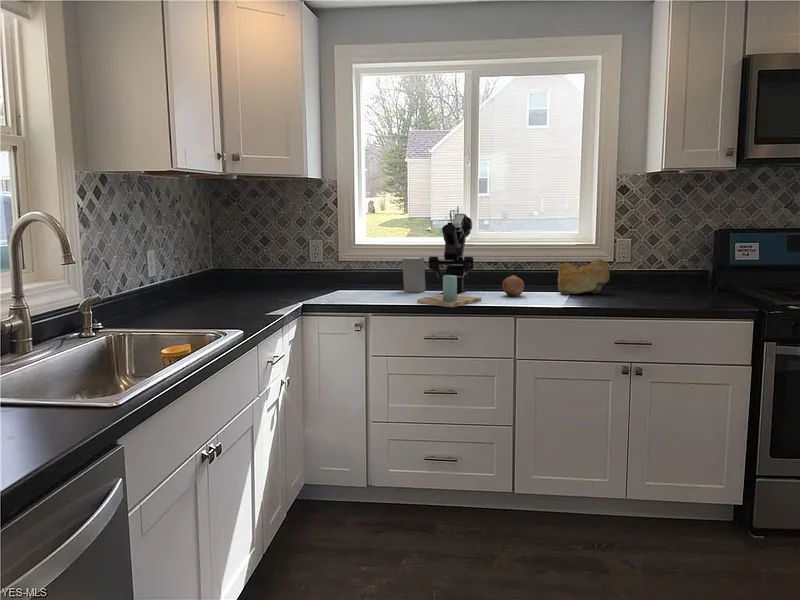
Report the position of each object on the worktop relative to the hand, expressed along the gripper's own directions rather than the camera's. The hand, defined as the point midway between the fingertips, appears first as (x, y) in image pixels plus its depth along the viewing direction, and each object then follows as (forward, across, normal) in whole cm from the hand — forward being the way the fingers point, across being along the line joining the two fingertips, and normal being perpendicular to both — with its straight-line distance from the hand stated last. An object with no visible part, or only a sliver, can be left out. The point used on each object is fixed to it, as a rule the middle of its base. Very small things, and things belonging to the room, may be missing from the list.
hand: (450, 278), depth 276 cm
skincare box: (-12, -18, +25) cm, 33 cm away
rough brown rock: (-12, +57, +27) cm, 64 cm away
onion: (-4, +27, +18) cm, 33 cm away
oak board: (+8, 0, +5) cm, 10 cm away
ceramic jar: (+11, 0, 0) cm, 11 cm away
